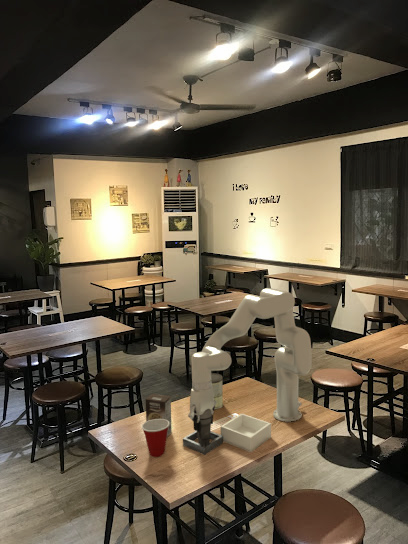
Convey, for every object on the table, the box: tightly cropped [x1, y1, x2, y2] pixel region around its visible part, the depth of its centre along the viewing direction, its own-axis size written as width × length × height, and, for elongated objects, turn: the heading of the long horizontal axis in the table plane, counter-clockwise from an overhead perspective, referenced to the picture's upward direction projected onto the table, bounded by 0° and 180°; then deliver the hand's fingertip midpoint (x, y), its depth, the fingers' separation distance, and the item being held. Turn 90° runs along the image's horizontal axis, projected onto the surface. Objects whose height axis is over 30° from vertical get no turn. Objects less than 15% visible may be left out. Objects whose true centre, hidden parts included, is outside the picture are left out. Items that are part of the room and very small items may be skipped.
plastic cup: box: [140, 419, 169, 458], centre depth 168 cm, size 11×11×12 cm
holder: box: [182, 430, 224, 456], centre depth 174 cm, size 11×11×3 cm
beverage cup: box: [196, 409, 213, 446], centre depth 173 cm, size 7×7×20 cm
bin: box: [220, 413, 272, 453], centre depth 178 cm, size 15×15×6 cm
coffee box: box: [145, 393, 173, 438], centre depth 183 cm, size 9×6×16 cm
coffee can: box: [211, 372, 224, 410], centre depth 209 cm, size 10×10×14 cm
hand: (203, 426), depth 174 cm, fingers closed on beverage cup, 6 cm apart
